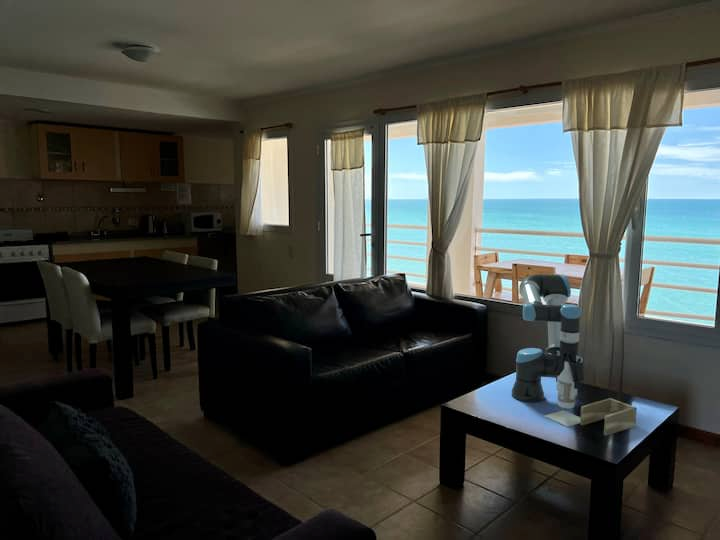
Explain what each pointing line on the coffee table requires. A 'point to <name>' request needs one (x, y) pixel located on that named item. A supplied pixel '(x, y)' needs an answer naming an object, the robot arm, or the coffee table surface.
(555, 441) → the coffee table surface
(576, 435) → the coffee table surface
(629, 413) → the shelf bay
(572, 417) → the tile
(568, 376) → the bath foam
